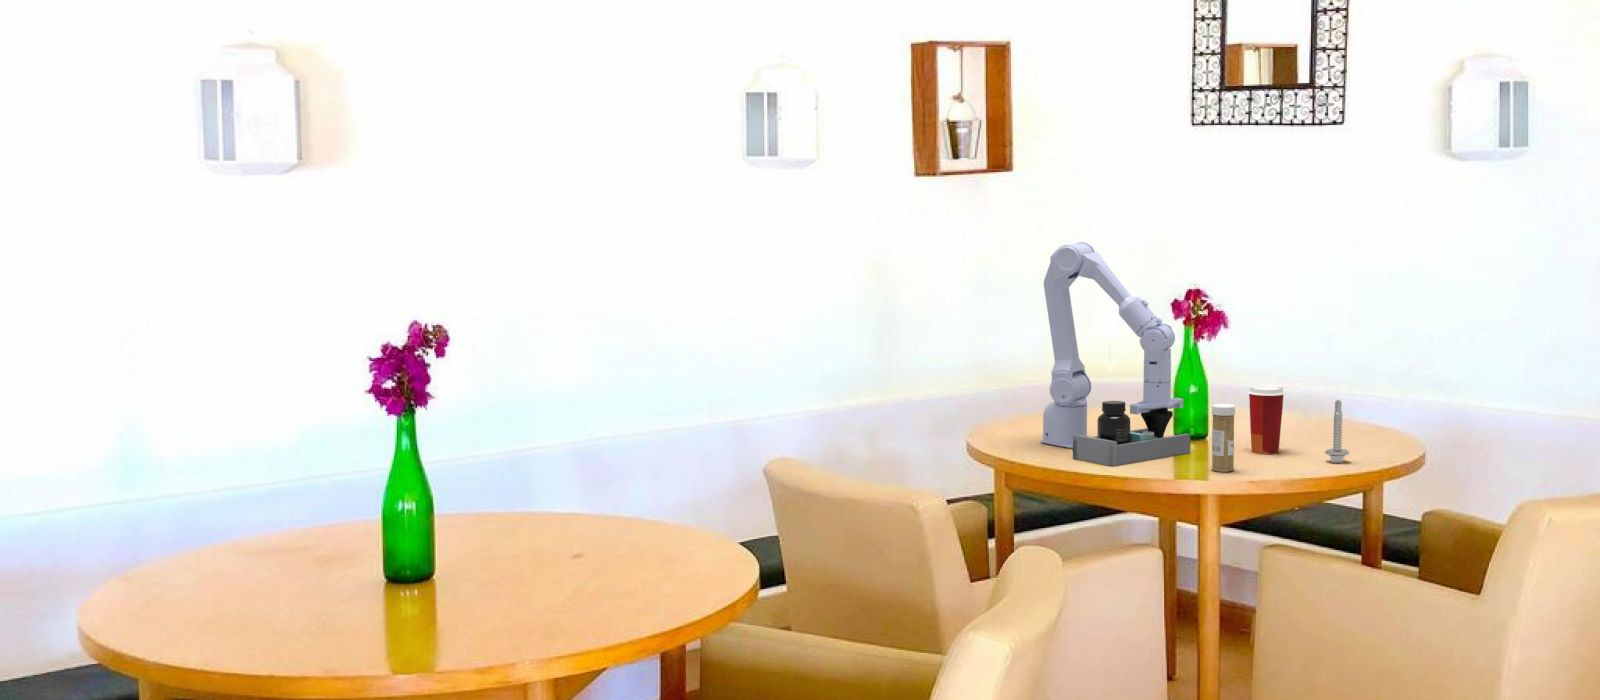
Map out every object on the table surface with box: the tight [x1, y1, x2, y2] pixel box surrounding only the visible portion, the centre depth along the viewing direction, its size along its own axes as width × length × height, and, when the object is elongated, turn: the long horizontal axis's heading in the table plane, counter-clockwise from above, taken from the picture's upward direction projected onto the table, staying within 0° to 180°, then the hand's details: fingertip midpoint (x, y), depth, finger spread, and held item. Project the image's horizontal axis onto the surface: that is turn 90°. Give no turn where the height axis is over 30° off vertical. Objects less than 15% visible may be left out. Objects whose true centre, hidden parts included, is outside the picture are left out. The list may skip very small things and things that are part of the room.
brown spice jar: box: [1211, 403, 1236, 473], centre depth 373 cm, size 5×5×13 cm
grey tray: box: [1072, 427, 1191, 467], centre depth 391 cm, size 11×24×5 cm, turn 127°
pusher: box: [1130, 431, 1157, 443], centre depth 392 cm, size 8×8×5 cm
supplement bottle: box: [1097, 400, 1131, 445], centre depth 387 cm, size 7×7×12 cm
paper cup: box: [1246, 384, 1286, 455], centre depth 393 cm, size 8×8×14 cm
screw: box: [1324, 399, 1350, 464], centre depth 381 cm, size 13×5×5 cm
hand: (1156, 444), depth 396 cm, fingers closed
